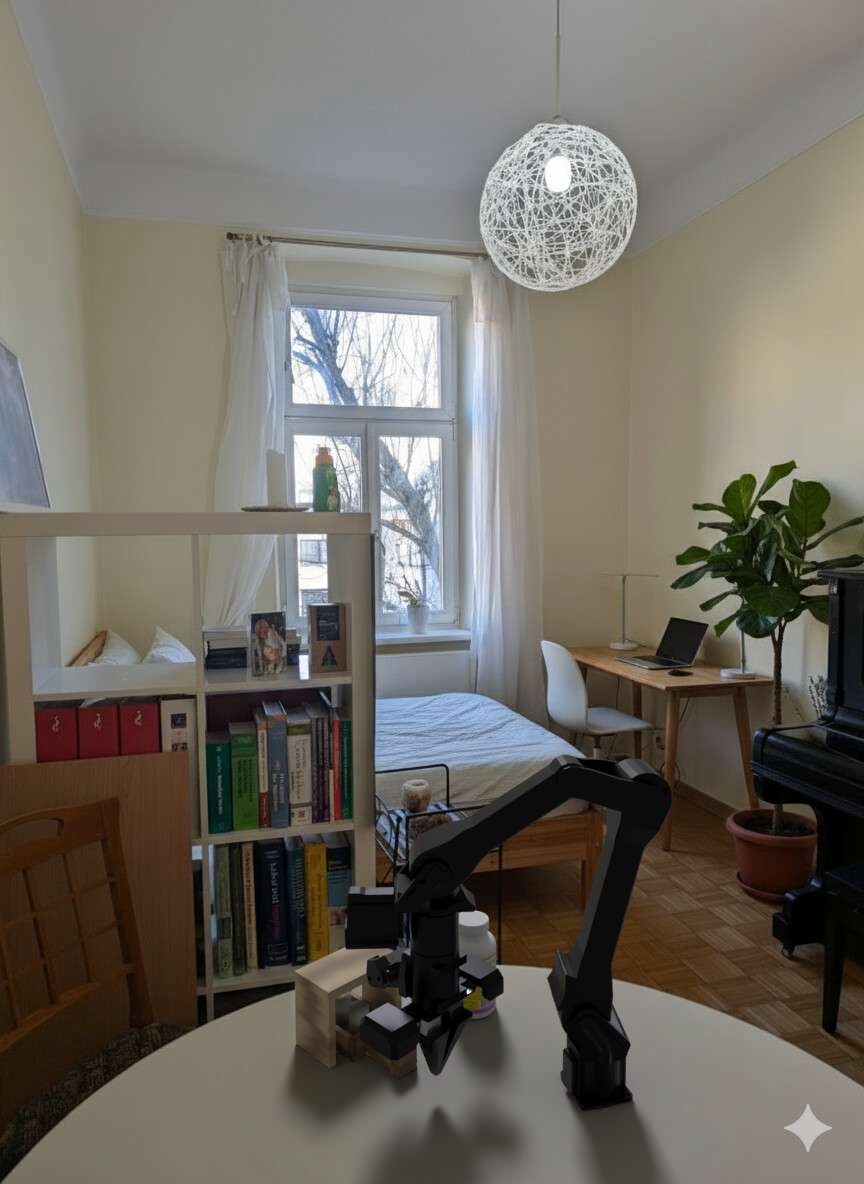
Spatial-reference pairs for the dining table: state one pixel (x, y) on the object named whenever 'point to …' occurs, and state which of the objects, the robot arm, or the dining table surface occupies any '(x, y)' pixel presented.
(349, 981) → the shelf
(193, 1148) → the dining table surface
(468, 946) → the supplement bottle
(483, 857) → the robot arm
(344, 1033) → the wooden box with handle
